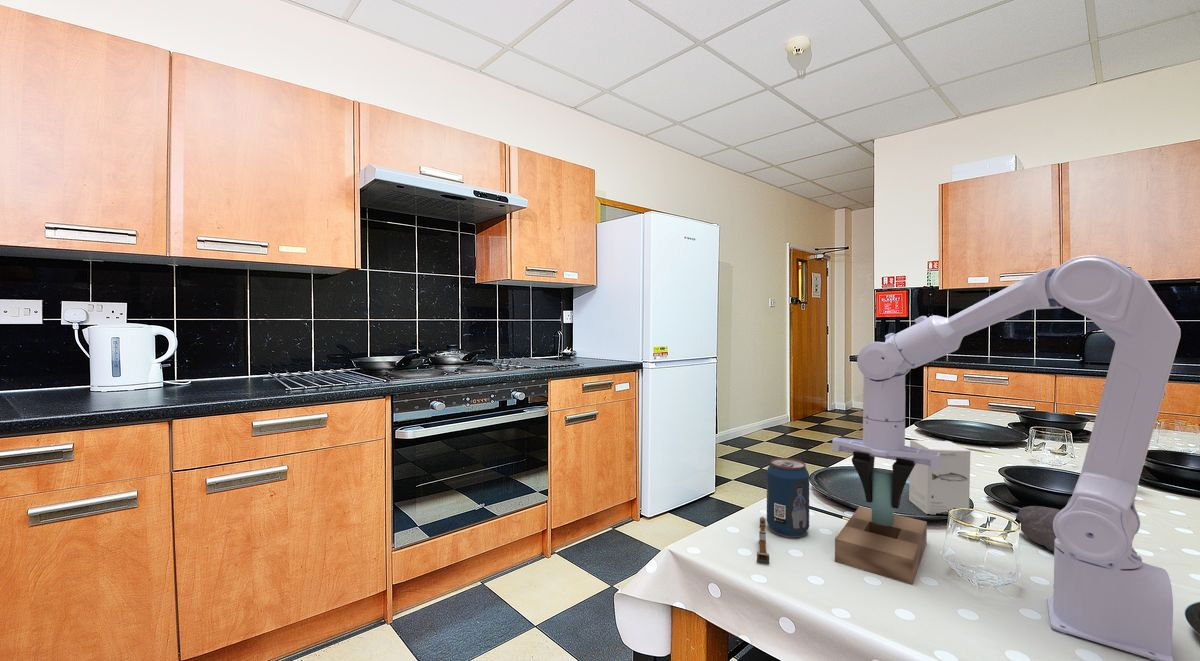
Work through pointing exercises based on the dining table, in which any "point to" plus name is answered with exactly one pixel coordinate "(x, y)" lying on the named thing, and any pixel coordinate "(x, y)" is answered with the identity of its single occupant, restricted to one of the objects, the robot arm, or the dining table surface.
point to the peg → (882, 497)
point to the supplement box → (941, 478)
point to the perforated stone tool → (1038, 524)
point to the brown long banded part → (762, 542)
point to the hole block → (882, 545)
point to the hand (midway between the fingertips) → (882, 503)
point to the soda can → (788, 497)
